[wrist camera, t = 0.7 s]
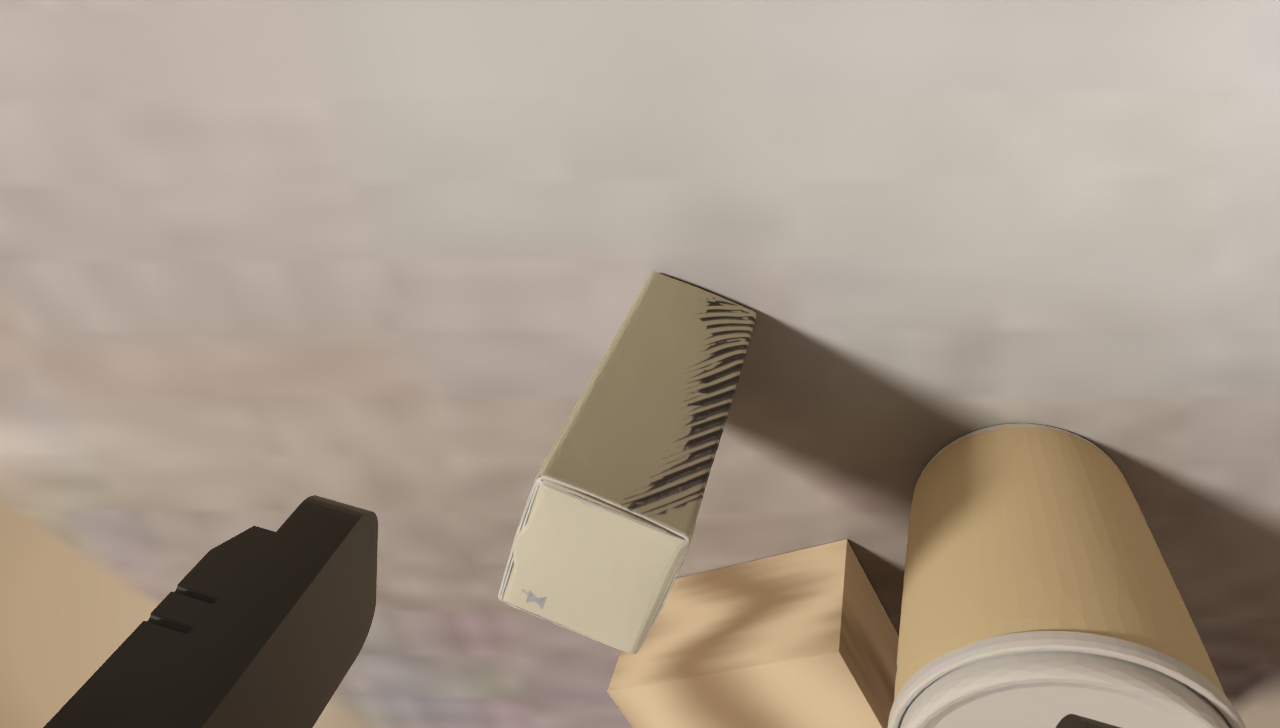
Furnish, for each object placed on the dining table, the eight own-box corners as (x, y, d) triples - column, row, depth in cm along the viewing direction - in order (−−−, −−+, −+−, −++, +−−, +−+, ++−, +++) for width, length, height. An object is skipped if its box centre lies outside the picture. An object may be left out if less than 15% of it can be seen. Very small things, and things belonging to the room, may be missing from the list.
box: (714, 411, 36) (635, 670, 25) (611, 370, 36) (489, 609, 25) (763, 303, 33) (697, 544, 22) (650, 258, 33) (531, 476, 22)
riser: (846, 539, 37) (838, 651, 32) (932, 700, 41) (937, 823, 36) (642, 586, 42) (607, 692, 37) (736, 728, 45) (715, 841, 40)
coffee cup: (842, 514, 37) (821, 777, 27) (1002, 356, 31) (1048, 610, 21) (1029, 628, 37) (1076, 925, 27) (1216, 492, 32) (1356, 799, 22)
